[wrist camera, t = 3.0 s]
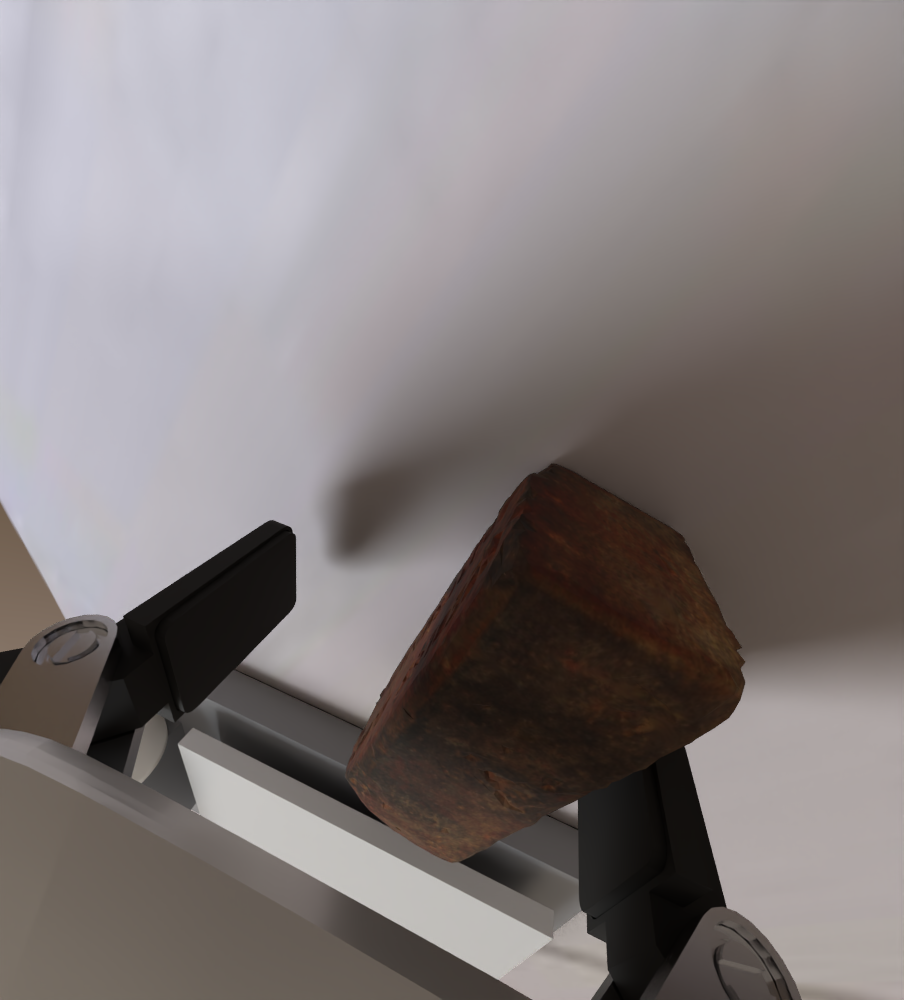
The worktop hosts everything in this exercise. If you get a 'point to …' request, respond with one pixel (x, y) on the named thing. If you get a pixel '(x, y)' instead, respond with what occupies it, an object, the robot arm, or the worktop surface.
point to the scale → (355, 825)
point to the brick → (546, 671)
